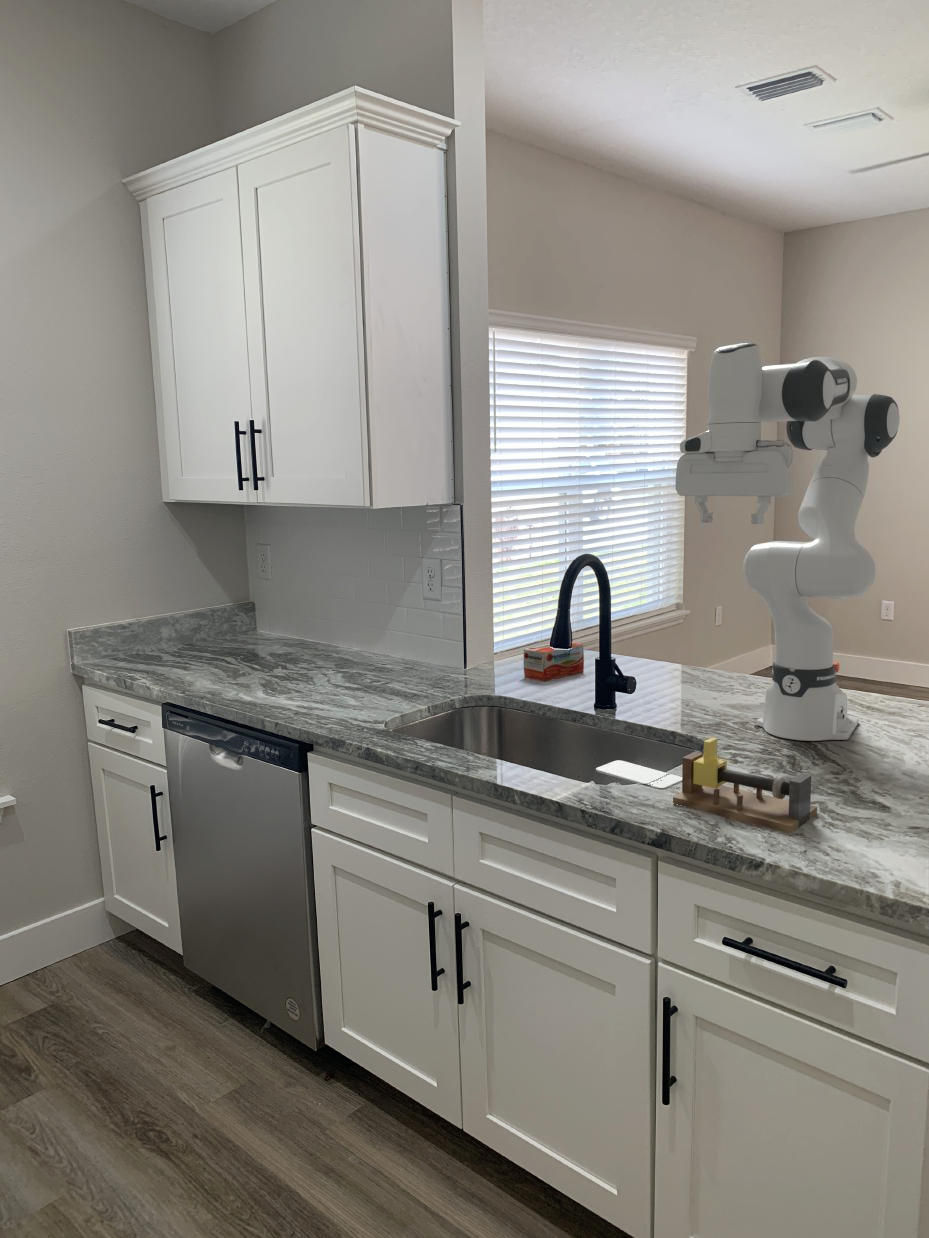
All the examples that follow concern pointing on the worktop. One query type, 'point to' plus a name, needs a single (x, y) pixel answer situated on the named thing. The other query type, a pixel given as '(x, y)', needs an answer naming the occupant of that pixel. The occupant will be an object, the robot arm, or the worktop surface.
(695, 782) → the sleeve
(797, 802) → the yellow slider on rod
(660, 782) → the smartphone
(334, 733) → the worktop surface
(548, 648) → the medicine box
